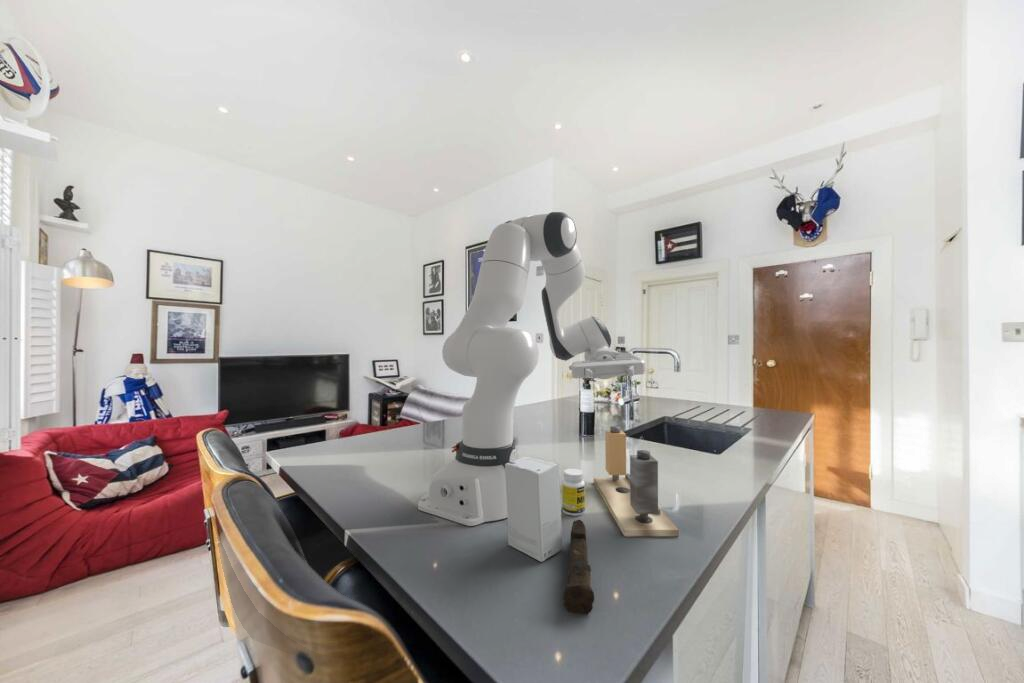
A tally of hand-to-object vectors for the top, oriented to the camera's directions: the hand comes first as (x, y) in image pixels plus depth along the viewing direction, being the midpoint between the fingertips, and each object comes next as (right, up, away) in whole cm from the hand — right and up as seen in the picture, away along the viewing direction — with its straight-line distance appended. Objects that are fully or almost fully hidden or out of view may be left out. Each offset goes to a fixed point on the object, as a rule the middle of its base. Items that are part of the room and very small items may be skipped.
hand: (612, 374), depth 97 cm
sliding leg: (-1, -26, -5) cm, 26 cm away
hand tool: (-16, -28, -39) cm, 51 cm away
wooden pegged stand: (-1, -27, -16) cm, 32 cm away
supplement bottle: (-13, -28, -19) cm, 36 cm away
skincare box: (-23, -28, -33) cm, 48 cm away
